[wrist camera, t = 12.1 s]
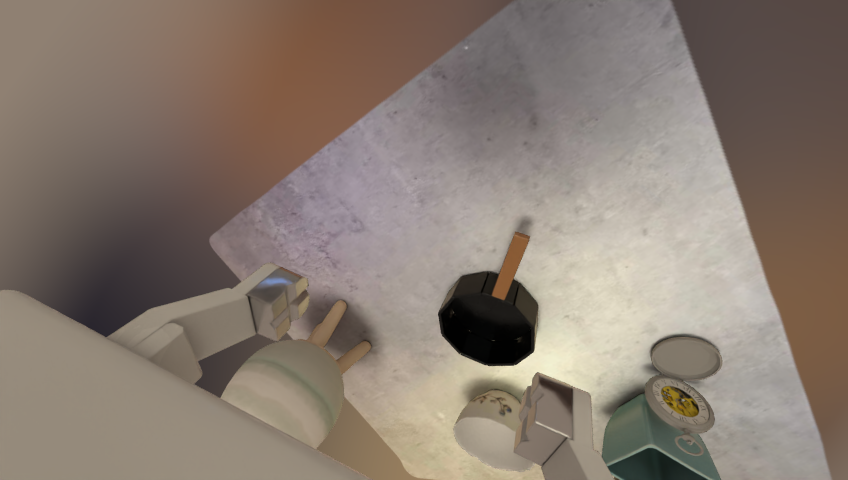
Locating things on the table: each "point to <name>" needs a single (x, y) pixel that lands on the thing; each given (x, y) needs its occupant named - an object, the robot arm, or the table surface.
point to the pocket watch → (683, 385)
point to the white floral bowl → (491, 431)
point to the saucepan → (492, 313)
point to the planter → (296, 383)
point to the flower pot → (651, 447)
